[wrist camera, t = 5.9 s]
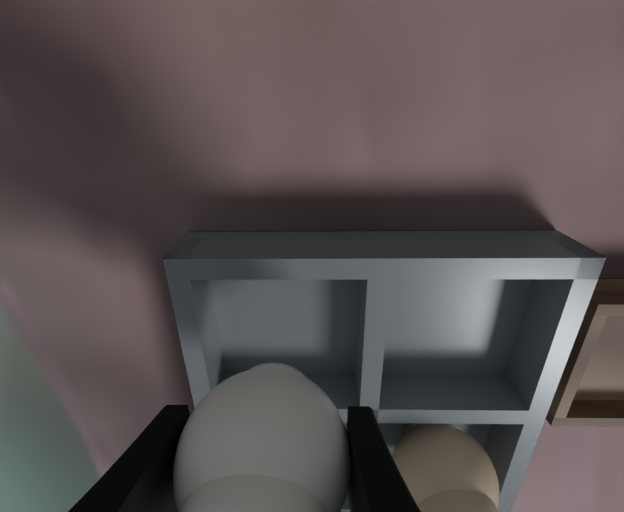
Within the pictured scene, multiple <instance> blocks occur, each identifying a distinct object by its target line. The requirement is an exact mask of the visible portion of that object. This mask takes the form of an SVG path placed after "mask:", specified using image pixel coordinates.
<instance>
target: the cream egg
mask: <svg viewBox="0 0 624 512" xmlns="http://www.w3.org/2000/svg"><path fill="white" fill-rule="evenodd" d="M350 474H351V459H350V446H349V439H348V434H347V431H346V428H345V425H344V422H343V420H342V418H341V415H340V413H339V411H338V409H337V408H336V406H335V405H334V403H333V402H332V400H331V399H330V398H329V396H328V395H327V394H326V393H325V392H324V391H323V390H322V389H321V388H320V387H319V386H317V385H316V384H315V383H314V382H313V381H311V380H310V379H308V378H306V376H305V375H304V374H303V373H302V372H300V371H299V370H297V369H296V368H294V367H292V366H289V365H286V364H282V363H264V364H260V365H257V366H254V367H252V368H251V369H249V370H246V371H243V372H240V373H238V374H236V375H233V376H231V377H229V378H228V379H226V380H224V381H223V382H221V383H220V384H219V385H217V386H216V387H215V388H213V389H212V390H211V391H210V392H209V393H208V394H207V395H206V396H205V397H204V398H203V399H202V400H201V401H200V402H199V404H198V405H197V406H196V408H195V409H194V411H193V412H192V414H191V415H190V417H189V418H188V420H187V422H186V424H185V426H184V429H183V431H182V433H181V436H180V439H179V442H178V445H177V449H176V453H175V459H174V466H173V489H174V497H175V502H176V506H177V510H178V512H341V510H342V508H343V505H344V502H345V500H346V496H347V492H348V488H349V482H350Z"/></svg>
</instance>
